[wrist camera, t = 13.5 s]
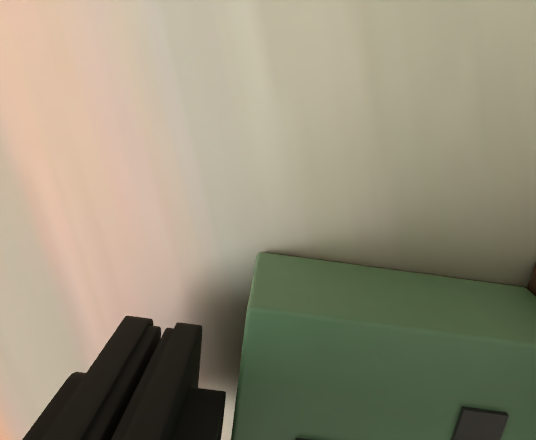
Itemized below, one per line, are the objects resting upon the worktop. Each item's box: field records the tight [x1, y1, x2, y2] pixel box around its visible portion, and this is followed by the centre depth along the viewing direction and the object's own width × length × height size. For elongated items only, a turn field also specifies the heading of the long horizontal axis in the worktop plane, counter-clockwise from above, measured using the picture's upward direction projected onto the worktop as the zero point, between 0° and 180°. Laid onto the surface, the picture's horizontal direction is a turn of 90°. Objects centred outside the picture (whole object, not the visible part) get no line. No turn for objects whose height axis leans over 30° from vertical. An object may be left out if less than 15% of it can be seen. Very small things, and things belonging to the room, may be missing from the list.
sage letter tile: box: [231, 252, 536, 440], centre depth 9 cm, size 6×6×3 cm
